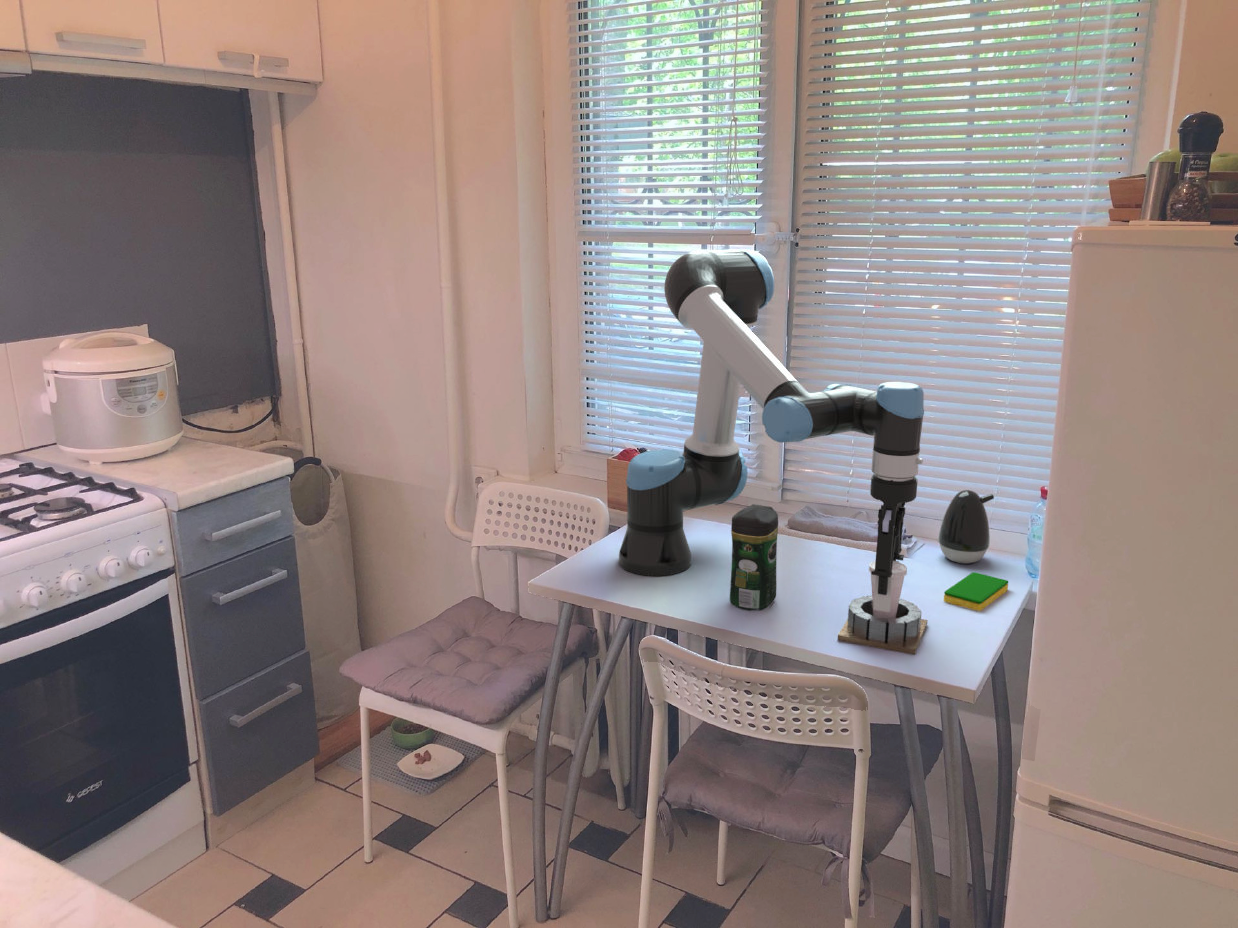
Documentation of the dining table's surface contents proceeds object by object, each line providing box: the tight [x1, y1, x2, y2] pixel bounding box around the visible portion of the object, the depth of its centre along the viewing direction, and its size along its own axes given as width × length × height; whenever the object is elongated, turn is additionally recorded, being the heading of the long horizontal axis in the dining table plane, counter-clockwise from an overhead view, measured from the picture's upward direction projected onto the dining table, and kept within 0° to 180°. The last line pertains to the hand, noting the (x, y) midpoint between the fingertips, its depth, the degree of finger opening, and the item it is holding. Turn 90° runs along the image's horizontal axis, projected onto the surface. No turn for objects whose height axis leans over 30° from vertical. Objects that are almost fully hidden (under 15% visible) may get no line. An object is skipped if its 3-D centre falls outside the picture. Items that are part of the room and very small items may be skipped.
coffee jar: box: [729, 504, 779, 612], centre depth 180 cm, size 10×8×19 cm
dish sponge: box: [943, 572, 1009, 612], centre depth 185 cm, size 7×14×2 cm, turn 138°
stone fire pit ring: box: [837, 595, 929, 656], centre depth 169 cm, size 13×13×4 cm
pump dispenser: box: [937, 489, 995, 564], centre depth 202 cm, size 10×10×15 cm
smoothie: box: [868, 560, 908, 619], centre depth 167 cm, size 6×6×14 cm
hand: (885, 602), depth 168 cm, fingers closed on smoothie, 6 cm apart
